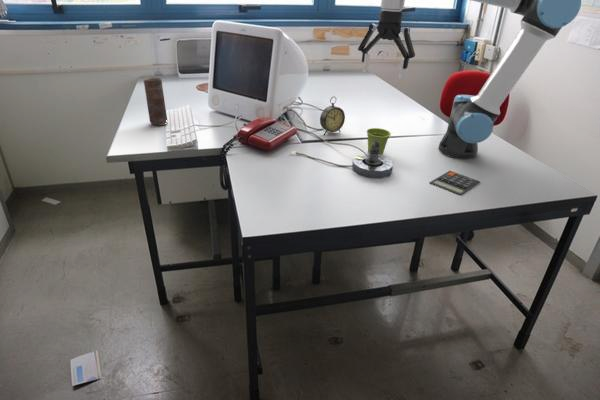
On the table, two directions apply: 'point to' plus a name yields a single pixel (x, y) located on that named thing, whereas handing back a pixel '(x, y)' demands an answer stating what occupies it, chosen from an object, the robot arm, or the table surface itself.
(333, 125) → the alarm clock
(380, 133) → the plant pot
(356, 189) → the table surface
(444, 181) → the calculator
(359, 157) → the ring
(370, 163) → the dark stone statuette
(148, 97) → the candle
